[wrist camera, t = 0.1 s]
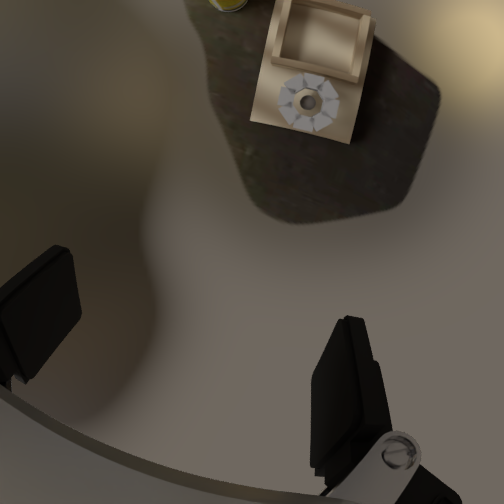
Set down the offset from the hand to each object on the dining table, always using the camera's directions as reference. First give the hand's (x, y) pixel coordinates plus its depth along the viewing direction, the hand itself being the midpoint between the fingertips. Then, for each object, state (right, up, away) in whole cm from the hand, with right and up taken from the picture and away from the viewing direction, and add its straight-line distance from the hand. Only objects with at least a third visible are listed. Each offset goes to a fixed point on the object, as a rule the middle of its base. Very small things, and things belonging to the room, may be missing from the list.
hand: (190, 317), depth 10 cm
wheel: (+8, +18, +19) cm, 27 cm away
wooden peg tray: (+9, +24, +21) cm, 34 cm away
